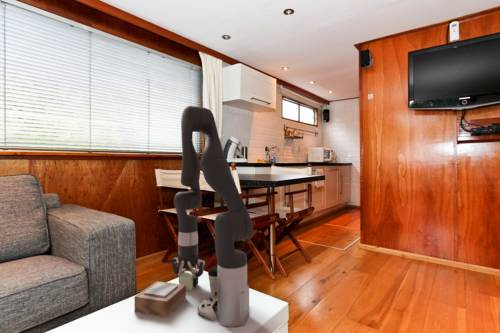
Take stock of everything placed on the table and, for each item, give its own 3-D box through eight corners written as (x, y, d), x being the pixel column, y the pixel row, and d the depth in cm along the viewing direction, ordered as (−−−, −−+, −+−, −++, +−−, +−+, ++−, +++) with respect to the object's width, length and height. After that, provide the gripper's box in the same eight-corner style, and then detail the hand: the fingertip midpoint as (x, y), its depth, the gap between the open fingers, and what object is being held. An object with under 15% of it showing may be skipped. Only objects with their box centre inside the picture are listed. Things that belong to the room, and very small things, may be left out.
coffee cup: (217, 303, 94) (217, 274, 94) (203, 296, 99) (203, 269, 98) (231, 295, 100) (231, 268, 99) (217, 289, 104) (217, 263, 104)
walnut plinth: (186, 299, 97) (186, 283, 97) (166, 317, 85) (166, 299, 85) (156, 294, 100) (156, 279, 100) (134, 311, 89) (134, 294, 89)
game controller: (216, 318, 84) (202, 303, 84) (204, 329, 84) (191, 314, 85) (225, 302, 93) (213, 289, 94) (215, 312, 94) (203, 299, 95)
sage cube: (197, 284, 108) (197, 272, 108) (191, 290, 104) (191, 277, 104) (186, 283, 110) (186, 270, 110) (179, 288, 105) (179, 275, 105)
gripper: (209, 241, 108) (209, 283, 108) (177, 238, 112) (177, 279, 112) (200, 246, 101) (200, 292, 101) (166, 243, 105) (167, 287, 105)
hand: (188, 285), depth 107 cm, fingers closed on sage cube, 5 cm apart
